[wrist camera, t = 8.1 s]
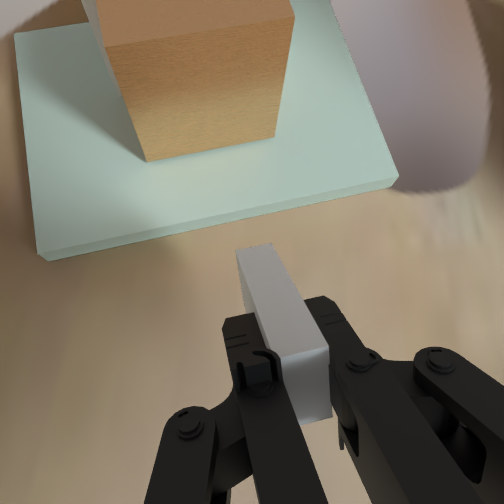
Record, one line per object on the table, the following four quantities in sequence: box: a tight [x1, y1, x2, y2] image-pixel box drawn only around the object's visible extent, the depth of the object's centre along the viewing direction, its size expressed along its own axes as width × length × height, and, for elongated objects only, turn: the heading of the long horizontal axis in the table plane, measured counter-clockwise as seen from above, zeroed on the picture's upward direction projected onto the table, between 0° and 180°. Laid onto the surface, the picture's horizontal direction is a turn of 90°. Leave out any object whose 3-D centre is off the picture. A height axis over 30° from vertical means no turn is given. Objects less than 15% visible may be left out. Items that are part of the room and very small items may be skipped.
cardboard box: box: [96, 0, 295, 162], centre depth 23 cm, size 8×13×9 cm, turn 14°
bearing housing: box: [14, 0, 399, 262], centre depth 24 cm, size 22×16×9 cm
